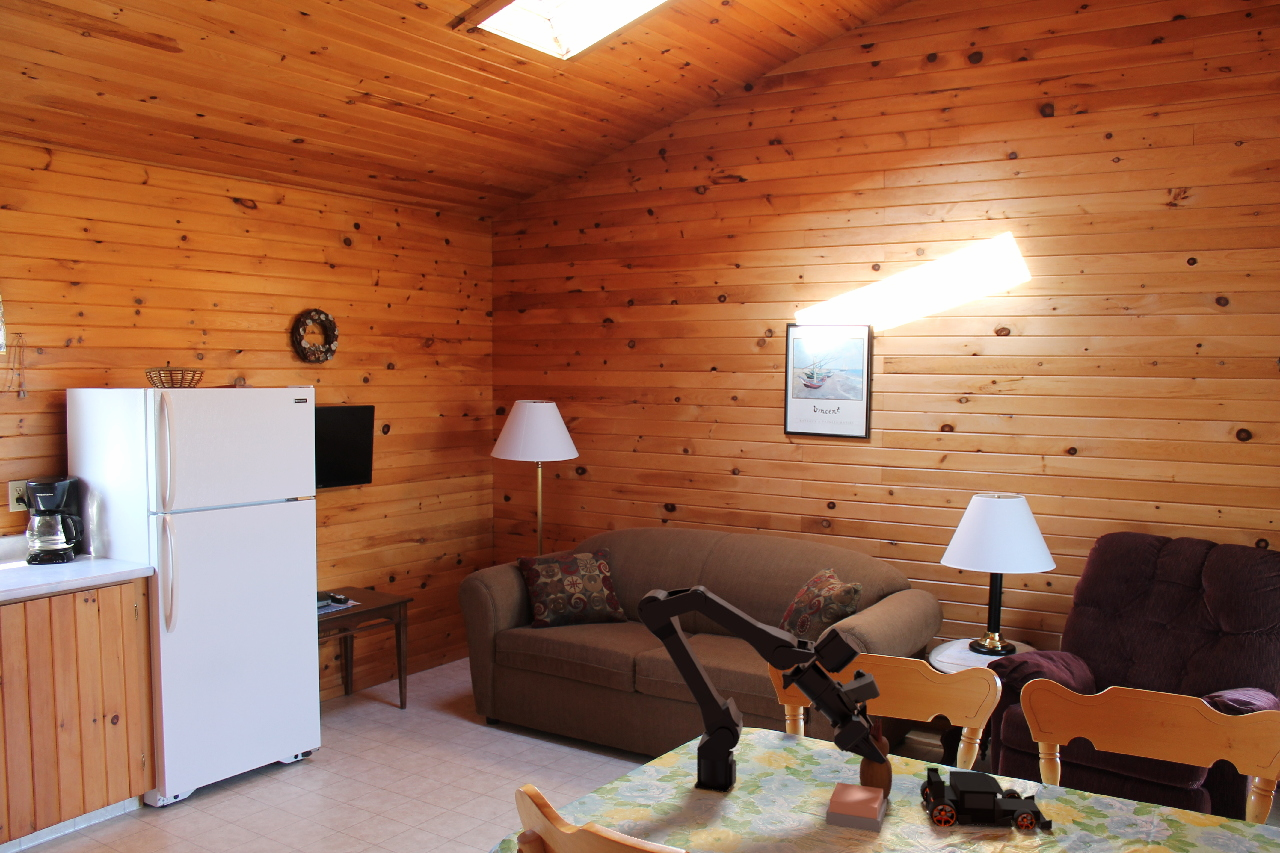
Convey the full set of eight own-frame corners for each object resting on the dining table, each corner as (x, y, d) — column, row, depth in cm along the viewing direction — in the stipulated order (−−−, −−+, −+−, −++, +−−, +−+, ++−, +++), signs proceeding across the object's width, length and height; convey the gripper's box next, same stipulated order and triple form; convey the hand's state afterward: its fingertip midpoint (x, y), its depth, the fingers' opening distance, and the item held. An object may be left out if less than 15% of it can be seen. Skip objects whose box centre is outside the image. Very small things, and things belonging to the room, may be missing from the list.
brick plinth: (826, 823, 165) (826, 800, 165) (835, 802, 174) (835, 780, 173) (879, 832, 162) (879, 809, 162) (886, 810, 170) (886, 788, 170)
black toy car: (1052, 833, 162) (1052, 790, 162) (930, 828, 164) (930, 785, 164) (1033, 806, 173) (1034, 766, 172) (919, 801, 175) (919, 762, 175)
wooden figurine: (893, 806, 172) (893, 723, 171) (859, 803, 173) (860, 721, 172) (890, 790, 179) (891, 711, 178) (859, 788, 180) (859, 709, 179)
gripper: (854, 675, 167) (920, 742, 165) (852, 646, 185) (911, 707, 183) (807, 717, 168) (872, 784, 167) (810, 685, 187) (868, 745, 185)
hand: (882, 752), depth 175 cm, fingers open, 9 cm apart
